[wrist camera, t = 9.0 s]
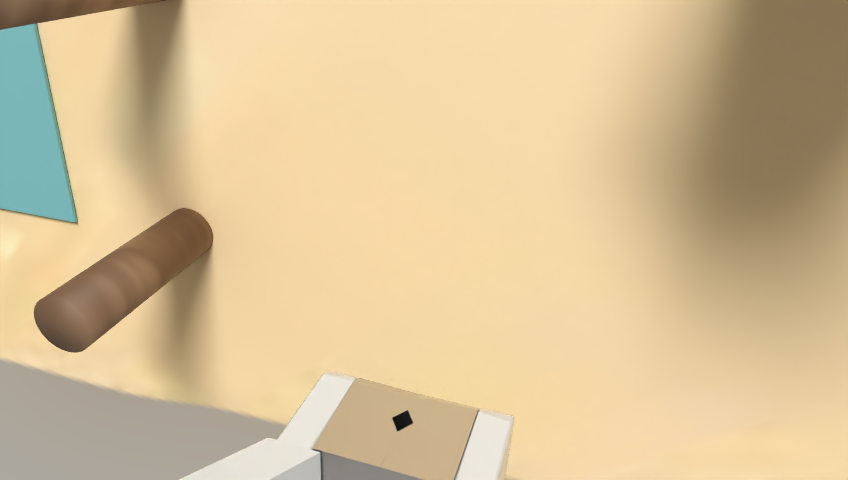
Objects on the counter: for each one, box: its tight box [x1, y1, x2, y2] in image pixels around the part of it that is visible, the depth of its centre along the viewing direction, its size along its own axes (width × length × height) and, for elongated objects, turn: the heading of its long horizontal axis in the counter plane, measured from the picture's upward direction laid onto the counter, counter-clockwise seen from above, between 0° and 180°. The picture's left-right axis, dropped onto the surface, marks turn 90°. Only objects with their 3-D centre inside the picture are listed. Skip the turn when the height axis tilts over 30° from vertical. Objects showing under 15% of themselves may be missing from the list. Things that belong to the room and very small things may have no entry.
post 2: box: [34, 208, 213, 352], centre depth 30 cm, size 3×3×9 cm
